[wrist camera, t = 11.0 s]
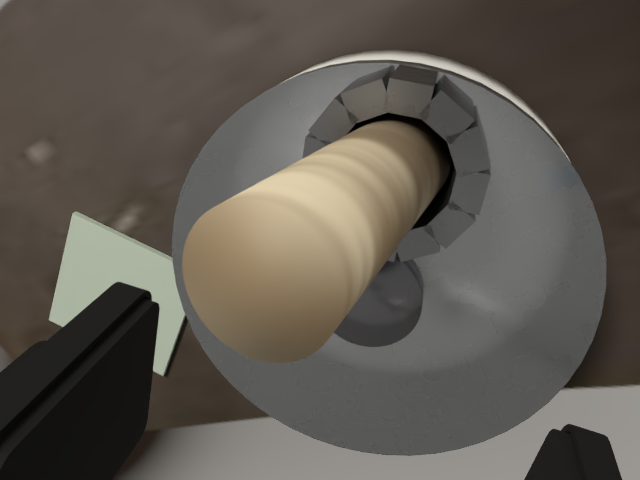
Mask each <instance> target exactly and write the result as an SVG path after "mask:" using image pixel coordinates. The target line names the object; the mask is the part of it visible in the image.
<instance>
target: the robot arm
mask: <svg viewBox="0 0 640 480" xmlns="http://www.w3.org/2000/svg"><path fill="white" fill-rule="evenodd" d="M159 310H160V307H159V304H158V303H157V302H154V301H152V295H151V293H150V292H149V291H147V290H144V289H141V288H138V287H135V286H132V285H128V284H125V283H122V282H116V283H114V284H113V285H111V286H110V287H109V288H108V289H107V290H106V291H104V292H103V293H102V294H101V295H100V296H99V297H98V298H96V299H95V300H94V301H93V302H92V303H91V304H89V305H88V306H87V307H86V308H85V309H84V310H82V311H81V312H80V313H79V314H78V315H77V316H75V317H74V318H73V319H72V320H71V321H70V322H68V323H67V324H66V325H65V326H64V327H63V328H61V329H60V330H59V331H58V332H57V333H56V334H54V335H53V336H52V337H51V338H50V339H49V340H48V341H46V340H45V341H40V342H38V343H36V344H35V345H33V346H31V347H30V348H29V349H28V350H26V351H25V352H24V353H23V354H22V355H21V356H19V357H18V358H17V359H16V360H15V361H13V362H12V363H11V364H10V365H9V366H8V367H6V368H5V369H4V370H3V371H2V372H0V480H112V479H113V477H114V476H115V474H116V473H117V471H118V470H119V469H120V467H121V466H122V464H123V463H124V461H125V460H126V459H127V457H128V456H129V455H130V453H131V452H132V450H133V449H134V447H135V446H136V445H137V443H138V442H139V440H140V438H141V436H142V434H143V432H144V430H145V427H146V424H147V418H148V409H149V400H150V391H151V382H152V374H153V365H154V356H155V347H156V338H157V329H158V320H159ZM525 480H622V478H621V475H620V472H619V469H618V466H617V463H616V460H615V456H614V453H613V450H612V447H611V444H610V441H609V440H608V437H606V436H605V435H603V434H600V433H596V432H593V431H590V430H587V429H584V428H581V427H577V426H574V425H571V424H568V425H566V426H564V428H563V429H562V430H561V431H559V430H556V429H552V430H551V431H550V432H549V433H548V435H547V437H546V439H545V441H544V443H543V445H542V446H541V448H540V450H539V452H538V454H537V456H536V458H535V460H534V462H533V464H532V466H531V468H530V470H529V472H528V474H527V476H526V477H525Z"/></svg>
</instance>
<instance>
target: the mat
mask: <svg viewBox="0 0 640 480" xmlns="http://www.w3.org/2000/svg"><path fill="white" fill-rule="evenodd" d="M116 282H122V283H125V284H128V285H132V286H135V287H138V288H141V289H144V290H147V291H149V292H150V293H151V295H152V301H154V302H157V303H158V304H159V307H160V310H159V320H158V329H157V338H156V347H155V356H154V365H153V371H154V372H156V373H158V374H160V375H162V376H163V375H164V374H165V372H166V370H167V367H168V364H169V361H170V358H171V356H172V353H173V350H174V347H175V345H176V342H177V339H178V336H179V333H180V331H181V328H182V325H183V322H184V319H185V317H186V315H185V312H184V310H183V307H182V304H181V300H180V297H179V293H178V290H177V286H176V281H175V274H174V268H173V258H172V257H170V256H168V255H166V254H164V253H162V252H159V251H157V250H155V249H153V248H151V247H149V246H147V245H145V244H143V243H141V242H139V241H137V240H135V239H132V238H130V237H128V236H126V235H124V234H122V233H120V232H118V231H116V230H114V229H112V228H110V227H108V226H106V225H103V224H101V223H99V222H97V221H95V220H93V219H91V218H89V217H87V216H85V215H83V214H81V213H79V212H74V213H73V214H72V218H71V223H70V227H69V232H68V236H67V241H66V245H65V250H64V254H63V259H62V263H61V268H60V272H59V277H58V281H57V286H56V290H55V295H54V299H53V304H52V308H51V313H50V317H49V320H50V321H52V322H54V323H56V324H58V325H60V326H62V327H64V326H65V325H66V324H67V323H68V322H70V321H71V320H72V319H73V318H74V317H75V316H77V315H78V314H79V313H80V312H81V311H82V310H84V309H85V308H86V307H87V306H88V305H89V304H91V303H92V302H93V301H94V300H95V299H96V298H98V297H99V296H100V295H101V294H102V293H103V292H104V291H106V290H107V289H108V288H109V287H110V286H111V285H113V284H114V283H116Z"/></svg>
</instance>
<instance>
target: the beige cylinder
mask: <svg viewBox="0 0 640 480" xmlns="http://www.w3.org/2000/svg"><path fill="white" fill-rule="evenodd" d="M453 166H454V163H453V159H452V156H451V153H450V150H449V147H448V143H447V141H446V140H445V139H443V138H442V137H441V136H440V135H439V134H438V133H437V132H435V131H434V130H433V129H432V128H431V127H430V126H429V125H428V124H426V123H425V122H424V121H423V120H422V119H418V118H413V117H408V116H403V115H398V114H393V113H386V114H384V115H382V116H380V117H379V118H377V119H375V120H373V121H371V122H369V123H367V124H366V125H364V126H362V127H360V128H358V129H356V130H355V131H353V132H351V133H349V134H347V135H345V136H344V137H342V138H340V139H338V140H336V141H334V142H333V143H331V144H329V145H327V146H325V147H323V148H322V149H320V150H318V151H316V152H314V153H312V154H311V155H309V156H307V157H305V158H303V159H301V160H299V161H298V162H296V163H294V164H292V165H290V166H288V167H287V168H285V169H283V170H281V171H279V172H277V173H276V174H274V175H272V176H270V177H268V178H266V179H265V180H263V181H261V182H259V183H257V184H255V185H254V186H252V187H250V188H248V189H246V190H244V191H243V192H241V193H239V194H237V195H235V196H233V197H231V198H230V199H228V200H226V201H224V202H222V203H220V204H219V205H217V206H215V207H213V208H212V209H210V210H209V211H207V212H206V213H205V214H203V215H202V216H201V217H200V218H199V219H198V220H197V222H196V223H195V224H194V225H193V227H192V229H191V231H190V232H189V234H188V237H187V239H186V242H185V246H184V250H183V259H182V270H183V278H184V283H185V287H186V291H187V293H188V296H189V299H190V301H191V303H192V305H193V307H194V309H195V311H196V313H197V314H198V316H199V317H200V319H201V320H202V322H203V323H204V324H205V325H206V327H207V328H208V329H209V330H210V331H211V332H212V333H213V334H214V335H215V336H216V337H217V338H218V339H219V340H220V341H222V342H223V343H224V344H226V345H227V346H228V347H230V348H231V349H233V350H235V351H236V352H238V353H240V354H242V355H244V356H247V357H249V358H252V359H255V360H259V361H263V362H269V363H288V362H294V361H298V360H301V359H303V358H306V357H308V356H310V355H311V354H313V353H315V352H316V351H317V350H319V349H320V348H321V347H322V346H323V345H324V344H325V343H326V342H327V341H328V339H329V338H330V337H331V335H332V334H333V333H334V331H335V330H336V329H337V327H338V326H339V325H340V323H341V322H342V321H343V319H344V318H345V317H346V315H347V314H348V313H349V311H350V310H351V309H352V307H353V306H354V305H355V303H356V302H357V301H358V299H359V298H360V296H361V295H362V294H363V292H364V291H365V290H366V288H367V287H368V286H369V284H370V283H371V282H372V280H373V279H374V278H375V276H376V275H377V274H378V272H379V271H380V270H381V268H382V267H383V266H384V264H385V263H386V262H387V260H388V259H389V258H390V256H391V255H392V254H393V252H394V251H395V249H396V248H397V247H398V245H399V244H400V243H401V241H402V240H403V239H404V237H405V236H406V235H407V233H408V232H409V231H410V229H411V228H412V227H413V225H414V224H415V223H416V221H417V220H418V219H419V217H420V216H421V215H422V213H423V212H424V211H425V209H426V208H427V207H428V205H429V204H430V202H431V201H432V200H433V198H434V197H435V196H436V194H437V193H438V192H439V190H440V189H441V188H442V186H443V185H444V184H445V182H446V181H447V179H448V178H449V176H450V174H451V172H452V169H453Z"/></svg>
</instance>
